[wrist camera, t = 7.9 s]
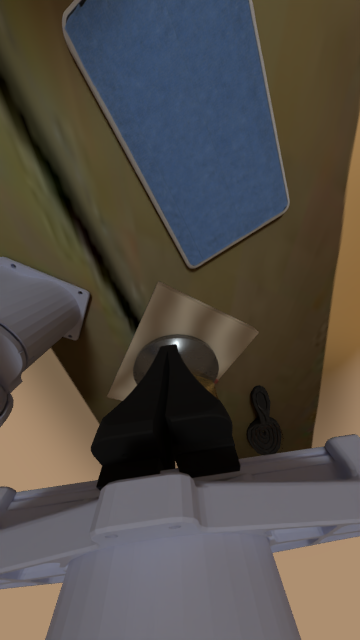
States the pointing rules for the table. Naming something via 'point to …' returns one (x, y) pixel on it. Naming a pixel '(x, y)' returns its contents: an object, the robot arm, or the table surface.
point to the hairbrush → (263, 425)
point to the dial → (191, 351)
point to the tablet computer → (187, 112)
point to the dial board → (183, 332)
